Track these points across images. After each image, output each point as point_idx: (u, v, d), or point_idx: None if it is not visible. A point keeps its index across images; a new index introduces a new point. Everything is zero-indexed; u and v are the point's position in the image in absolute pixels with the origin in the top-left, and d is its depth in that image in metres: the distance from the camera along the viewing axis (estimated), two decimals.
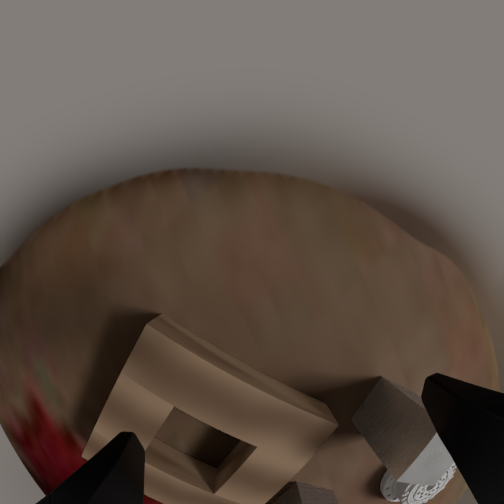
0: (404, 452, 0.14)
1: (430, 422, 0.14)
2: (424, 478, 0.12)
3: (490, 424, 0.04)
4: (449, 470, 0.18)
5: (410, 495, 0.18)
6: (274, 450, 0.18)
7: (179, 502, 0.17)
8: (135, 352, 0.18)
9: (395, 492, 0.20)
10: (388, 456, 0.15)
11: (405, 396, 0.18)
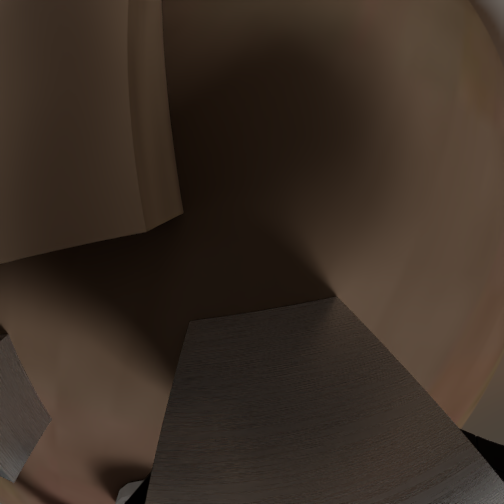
0: None
1: None
2: None
3: None
4: None
5: None
6: None
7: None
8: None
9: None
10: None
11: (405, 375, 0.05)
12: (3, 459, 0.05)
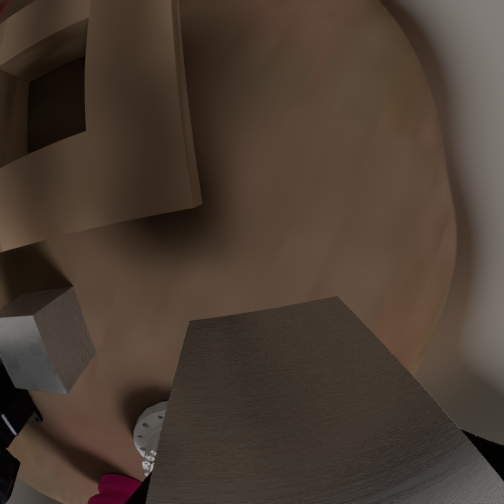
0: None
1: None
2: None
3: None
4: None
5: None
6: (93, 156, 0.11)
7: None
8: None
9: (149, 440, 0.17)
10: None
11: (405, 375, 0.05)
12: (62, 373, 0.12)
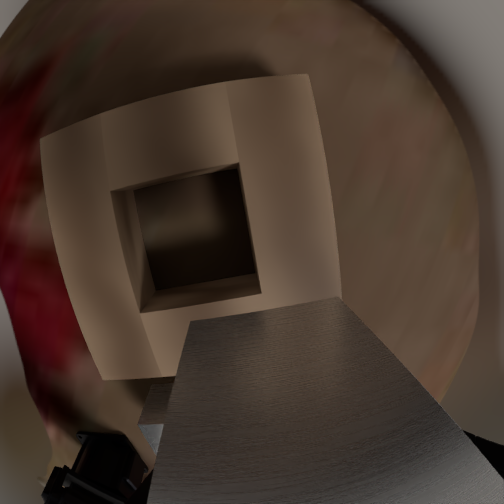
0: None
1: None
2: None
3: None
4: None
5: None
6: None
7: (84, 291, 0.15)
8: (266, 80, 0.13)
9: None
10: None
11: (406, 375, 0.05)
12: None
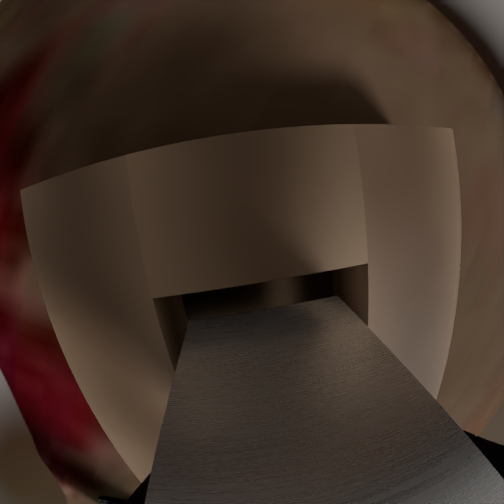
0: None
1: None
2: None
3: None
4: None
5: None
6: None
7: (119, 417, 0.10)
8: (408, 132, 0.08)
9: None
10: None
11: (406, 374, 0.05)
12: None
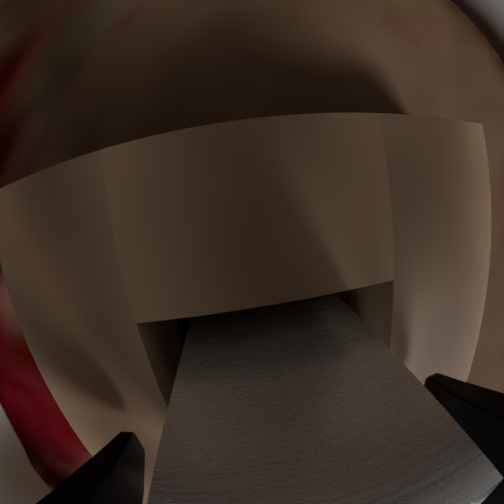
0: (265, 495, 0.03)
1: (449, 450, 0.03)
2: None
3: (490, 424, 0.04)
4: None
5: None
6: None
7: None
8: (439, 126, 0.06)
9: None
10: (194, 451, 0.04)
11: (369, 332, 0.07)
12: None
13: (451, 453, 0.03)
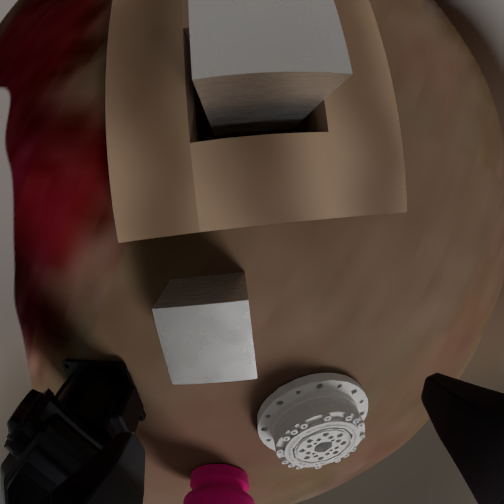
0: None
1: None
2: (208, 21, 0.07)
3: (490, 424, 0.04)
4: (351, 446, 0.19)
5: (303, 433, 0.18)
6: (336, 156, 0.14)
7: (127, 120, 0.13)
8: None
9: (283, 416, 0.20)
10: None
11: None
12: None
13: None
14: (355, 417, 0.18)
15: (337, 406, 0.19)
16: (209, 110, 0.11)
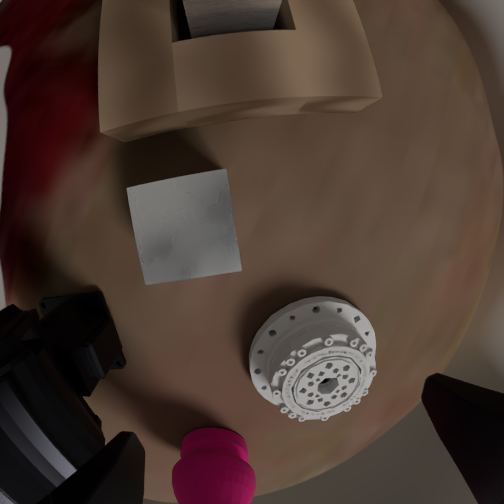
0: None
1: None
2: None
3: (490, 424, 0.04)
4: (361, 386, 0.18)
5: (302, 363, 0.17)
6: (305, 47, 0.13)
7: (118, 33, 0.12)
8: None
9: (277, 348, 0.19)
10: None
11: None
12: None
13: None
14: (361, 343, 0.17)
15: (339, 330, 0.18)
16: (188, 6, 0.10)
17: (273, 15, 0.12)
